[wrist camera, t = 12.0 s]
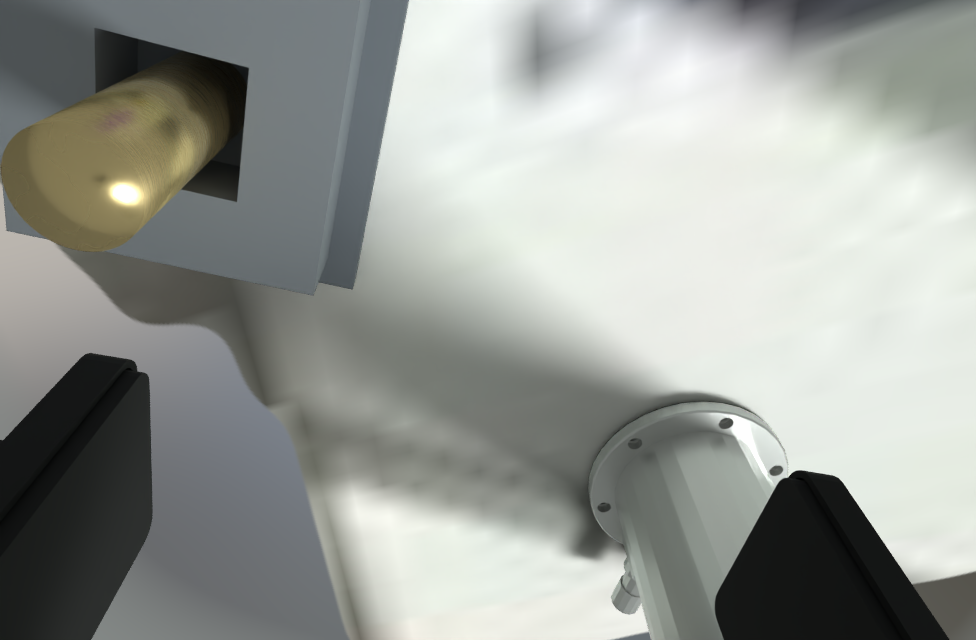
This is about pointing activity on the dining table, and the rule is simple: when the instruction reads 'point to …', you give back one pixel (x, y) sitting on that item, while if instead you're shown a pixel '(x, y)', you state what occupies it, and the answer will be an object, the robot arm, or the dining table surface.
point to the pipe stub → (123, 151)
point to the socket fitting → (267, 125)
